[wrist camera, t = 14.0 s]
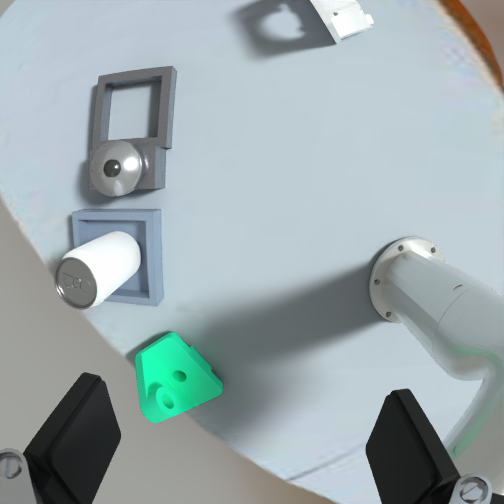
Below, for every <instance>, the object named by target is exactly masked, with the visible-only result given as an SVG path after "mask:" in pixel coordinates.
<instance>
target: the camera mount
mask: <svg viewBox="0 0 504 504" xmlns="http://www.w3.org/2000/svg"><path fill="white" fill-rule="evenodd" d="M135 366H136V376H137V385H138V393H139V401H140V407H141V411H142V412H143V414H144V416H145V417H146V418H147V419H148V420H149V421H151V422H153V423H159V422H162V421H164V420H167V419H169V418H171V417H173V416H176V415H178V414H180V413H183V412H185V411H187V410H189V409H191V408H194V407H196V406H198V405H200V404H202V403H205V402H207V401H209V400H211V399H213V398H215V397H217V396H219V395H221V394H222V390H223V383H222V382H221V381H220V380H219V379H218V378H217V377H216V376H215V375H214V373H213V372H212V371H211V369H212V367H211V366H210V365H209V364H208V363H207V362H206V361H205V360H204V358H203V357H202V356H201V355H200V354H199V353H198V352H197V351H196V350H195V349H194V347H193V346H192V345H191V346H190V347H188V345H187V344H186V343H185V342H184V341H183V340H182V339H181V338H180V336H179V335H178V334H176V333H174V332H170V333H168V334H166V335H165V336H163V337H161V338H160V339H158V340H157V341H155V342H154V343H152V344H150V345H149V346H147V347H146V348H144V349H143V350H141V351H139V352H138V353H137V355H136V356H135ZM180 371H182V372H180ZM183 372H184V373H183Z"/></svg>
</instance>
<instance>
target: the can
mask: <svg viewBox="0 0 504 504" xmlns="http://www.w3.org/2000/svg"><path fill="white" fill-rule="evenodd" d="M140 264H141V252H140V248H139V246H138V244H137V242H136V241H135V239H134V238H133V237H132V236H130V235H129V234H127V233H125V232H121V231H114V232H111V233H108V234H106V235H104V236H101V237H99V238H97V239H95V240H92V241H90V242H88V243H86V244H84V245H81V246H79V247H77V248H75V249H73V250H71V251H69V252H68V253H67V254H66V255H65V256H64V257H63V258H62V260H61V261H60V262H59V263H58V264H57V266H56V268H55V272H54V282H55V286H56V289H57V291H58V293H59V295H60V297H61V298H62V299H63V300H64V302H65V303H67V304H68V305H69V306H71V307H73V308H75V309H81V310H82V309H87V308H89V307H94V306H96V305H98V304H100V303H101V302H102V301H103V300H105V299H106V298H107V297H108V296H109V295H110V294H112V293H113V292H114V291H115V290H116V289H117V288H118V287H120V286H121V285H122V284H123V283H124V282H125V281H127V280H128V279H129V278H130V277H131V276H132V275H133V274H134V273H135V272H136V271H137V270H138V268H139V266H140Z"/></svg>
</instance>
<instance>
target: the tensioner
mask: <svg viewBox="0 0 504 504" xmlns="http://www.w3.org/2000/svg"><path fill="white" fill-rule="evenodd" d="M176 77H177V71H176V70H175V68H174V67H173V66H167V67H157V68H148V69H140V70H133V71H126V72H120V73H114V74H108V75H103V76H99V79H98V86H97V94H96V103H95V113H94V125H93V140H92V150H89V190H98V191H99V192H100V193H102V194H104V195H106V196H110V197H115V196H121V195H126V194H128V193H130V192H132V191H133V190H134V189H158V188H165V166H166V148H171V147H172V128H173V113H174V99H175V87H176ZM154 81H162V83H161V93H160V105H159V118H158V134H157V137H149V138H133V139H120V140H109V141H108V129H109V116H110V105H111V96H112V87H115V86H121V85H128V84H136V83H145V82H154Z"/></svg>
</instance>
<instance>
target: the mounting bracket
mask: <svg viewBox="0 0 504 504" xmlns="http://www.w3.org/2000/svg"><path fill="white" fill-rule="evenodd" d="M310 1H311V2H312V4H313V5H314V7H315V9H316V10H317V12H318V13H319V15H320V17H321V18H322V20H323V22H324V23H325V25H326V27H327V28H328V30H329V32H330V33H331V35H332V37H333V38H334V40H335V42H336V43H340V42H342V40H341V39H342V38H345V37H348V36H351V35H354V34H356V33H359V32H362V31H365V30H369V29H372V26H371V25H372V24H374V21H373V19H372V17H371V16H370V14H366V15H365V14H364V13H363V11H362V9H361V7H360V5H359V4H358V3H357V2H356V0H310Z"/></svg>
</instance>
